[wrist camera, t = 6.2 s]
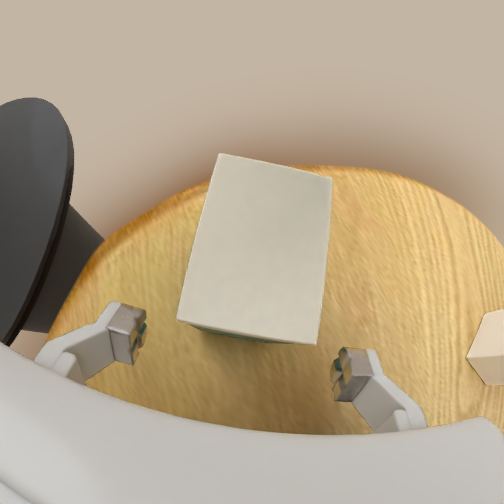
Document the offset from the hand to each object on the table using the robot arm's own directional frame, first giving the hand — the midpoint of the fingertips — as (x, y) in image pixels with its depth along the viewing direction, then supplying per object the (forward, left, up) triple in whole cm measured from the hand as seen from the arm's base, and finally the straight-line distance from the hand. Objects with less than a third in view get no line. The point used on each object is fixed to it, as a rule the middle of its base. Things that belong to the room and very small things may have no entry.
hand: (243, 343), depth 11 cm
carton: (-1, +4, -9) cm, 10 cm away
